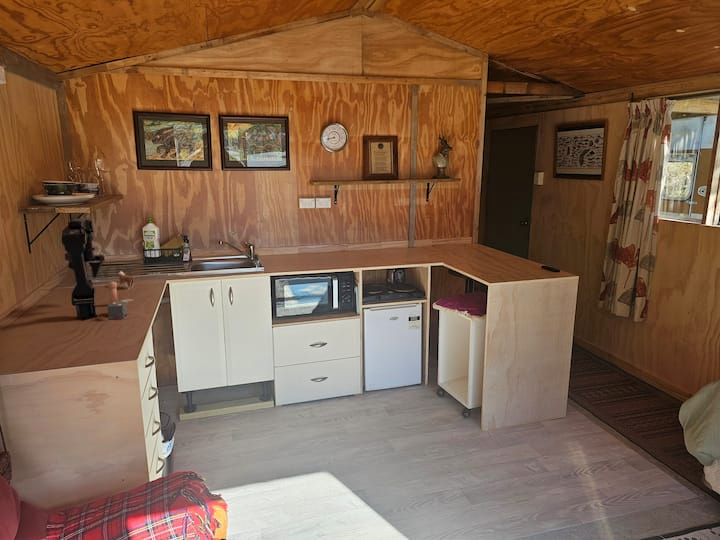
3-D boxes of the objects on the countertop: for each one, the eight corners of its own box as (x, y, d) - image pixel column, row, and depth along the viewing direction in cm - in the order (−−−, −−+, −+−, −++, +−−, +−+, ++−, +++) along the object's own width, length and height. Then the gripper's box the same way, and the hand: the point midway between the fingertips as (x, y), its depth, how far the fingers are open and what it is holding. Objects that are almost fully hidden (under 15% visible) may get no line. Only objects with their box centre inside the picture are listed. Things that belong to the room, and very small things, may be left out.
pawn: (112, 306, 231) (110, 282, 229) (108, 304, 233) (105, 281, 231) (120, 304, 234) (118, 281, 232) (116, 303, 236) (113, 280, 234)
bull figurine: (123, 284, 277) (122, 270, 275) (136, 288, 268) (134, 273, 267) (116, 286, 273) (114, 271, 272) (128, 290, 265) (126, 275, 263)
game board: (115, 309, 231) (115, 306, 231) (105, 308, 233) (105, 305, 233) (136, 302, 243) (136, 299, 243) (126, 301, 245) (126, 298, 245)
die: (123, 319, 218) (122, 305, 216) (108, 319, 216) (107, 305, 215) (127, 315, 223) (125, 301, 222) (112, 315, 222) (111, 302, 221)
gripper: (81, 242, 239) (84, 274, 242) (54, 249, 221) (58, 283, 224) (103, 243, 238) (106, 275, 241) (78, 250, 220) (82, 284, 223)
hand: (88, 279), depth 232 cm, fingers open, 9 cm apart
